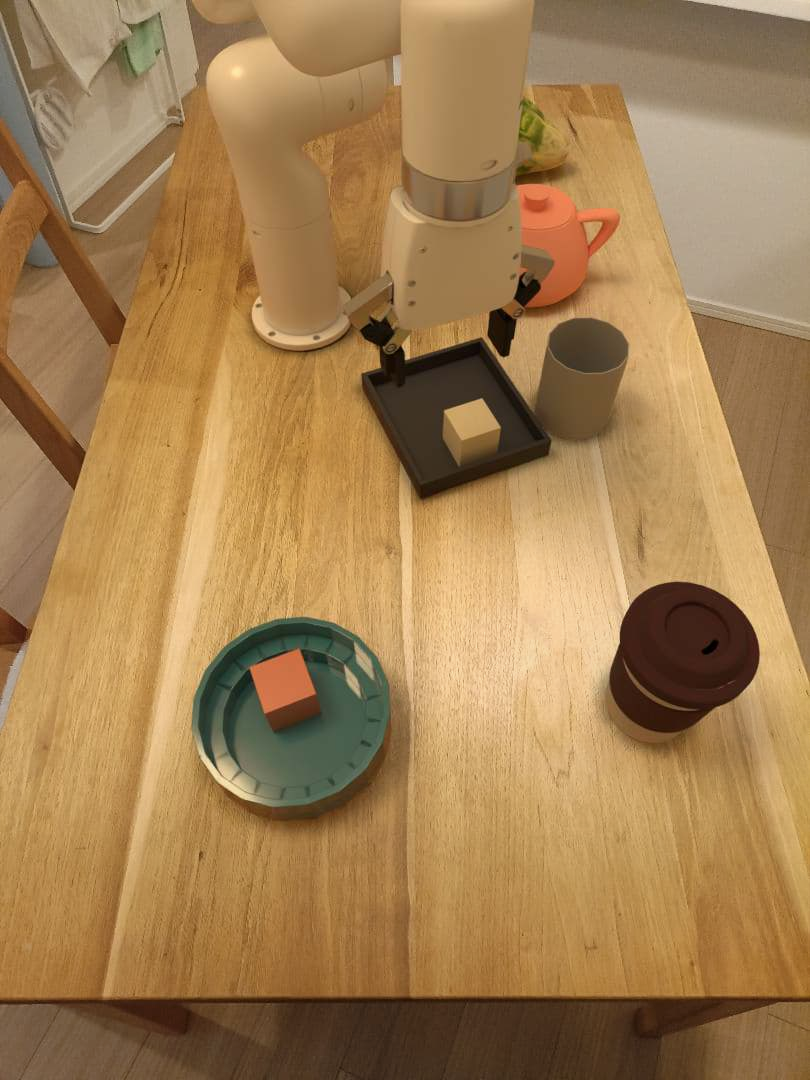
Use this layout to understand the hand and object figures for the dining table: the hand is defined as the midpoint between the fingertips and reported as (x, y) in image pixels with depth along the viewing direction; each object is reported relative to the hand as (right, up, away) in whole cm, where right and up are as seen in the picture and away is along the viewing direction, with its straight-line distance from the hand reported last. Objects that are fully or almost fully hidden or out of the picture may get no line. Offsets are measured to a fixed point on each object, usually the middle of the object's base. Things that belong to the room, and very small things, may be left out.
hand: (447, 360), depth 66 cm
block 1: (-14, -30, +2) cm, 33 cm away
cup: (+15, -1, +21) cm, 26 cm away
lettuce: (+8, +39, +47) cm, 62 cm away
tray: (+2, -2, +20) cm, 20 cm away
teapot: (+11, +18, +33) cm, 40 cm away
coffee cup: (+18, -30, +2) cm, 35 cm away
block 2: (+3, -5, +17) cm, 18 cm away
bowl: (-13, -32, +1) cm, 34 cm away
